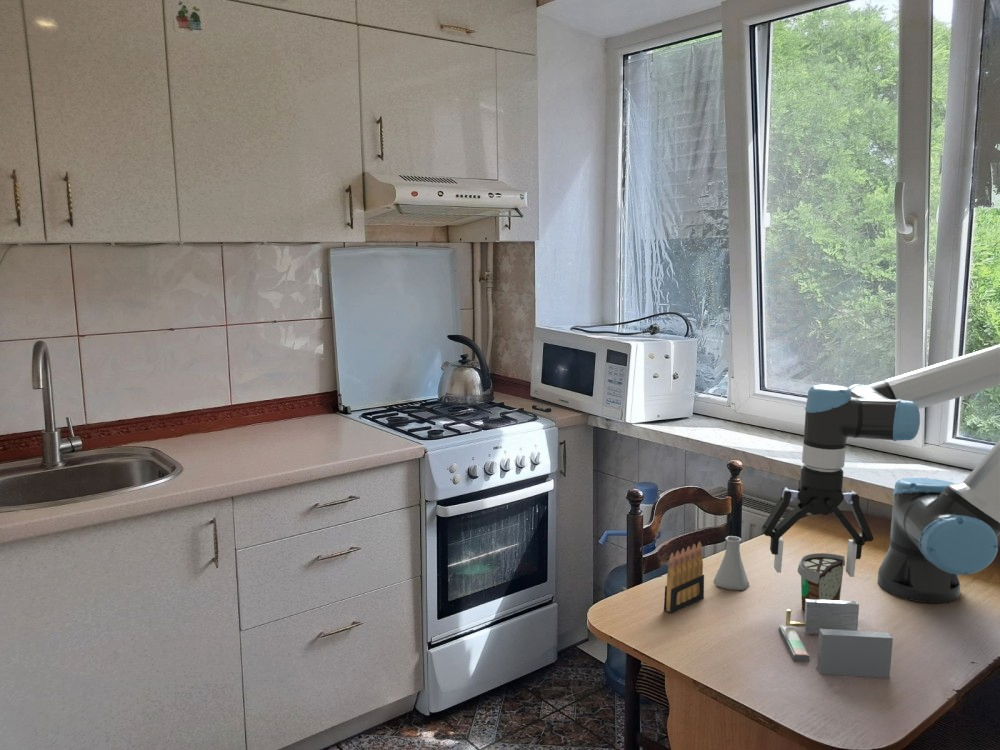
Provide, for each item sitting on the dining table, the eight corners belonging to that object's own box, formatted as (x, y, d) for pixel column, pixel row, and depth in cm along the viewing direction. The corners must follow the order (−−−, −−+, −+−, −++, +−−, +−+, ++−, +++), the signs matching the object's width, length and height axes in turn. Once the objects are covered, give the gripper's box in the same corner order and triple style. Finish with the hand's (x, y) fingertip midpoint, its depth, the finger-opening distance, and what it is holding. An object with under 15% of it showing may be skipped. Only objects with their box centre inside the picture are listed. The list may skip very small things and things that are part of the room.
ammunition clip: (671, 614, 154) (673, 555, 152) (663, 611, 156) (665, 552, 154) (704, 598, 161) (706, 541, 159) (696, 595, 163) (698, 539, 161)
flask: (711, 588, 166) (713, 542, 164) (715, 574, 173) (717, 530, 171) (747, 593, 163) (750, 547, 162) (750, 579, 170) (753, 535, 168)
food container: (812, 593, 163) (815, 547, 162) (842, 603, 159) (845, 555, 157) (783, 613, 155) (786, 564, 153) (814, 623, 150) (818, 573, 149)
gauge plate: (854, 632, 146) (857, 601, 145) (856, 635, 145) (859, 604, 144) (785, 628, 147) (786, 598, 146) (786, 631, 146) (788, 601, 145)
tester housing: (859, 634, 146) (862, 598, 145) (889, 677, 132) (892, 638, 130) (778, 630, 148) (780, 594, 147) (799, 672, 133) (802, 633, 132)
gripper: (883, 464, 154) (873, 568, 158) (751, 458, 157) (744, 560, 161) (898, 475, 147) (887, 583, 151) (759, 468, 150) (751, 575, 153)
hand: (813, 572), depth 156 cm, fingers open, 13 cm apart
